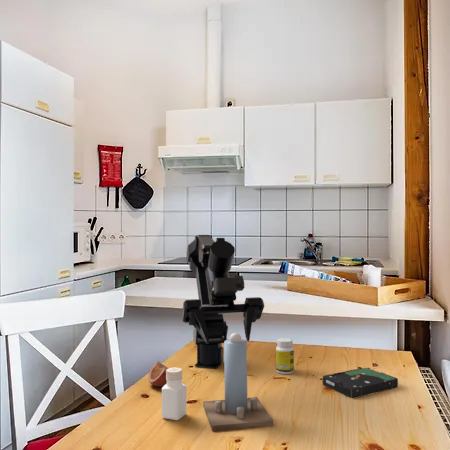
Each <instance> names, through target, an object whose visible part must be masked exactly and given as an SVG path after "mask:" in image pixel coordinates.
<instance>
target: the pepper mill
mask: <svg viewBox="0 0 450 450" xmlns="http://www.w3.org/2000/svg"><path fill="white" fill-rule="evenodd" d="M247 343H248V341H247V340H245V339H242V336H241V334H240V333H238V332H232V333H231V334H230V335H229V339H227V340H226V341H224V343H223V348H224V362H223V363H224V400H225V412H226V413H228V414H232V415H237V407H240V406H241V407H244V413H246V412H247V398H248V350H247V349H248V347H247V345H248V344H247Z"/></svg>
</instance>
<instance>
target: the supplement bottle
mask: <svg viewBox="0 0 450 450" xmlns="http://www.w3.org/2000/svg"><path fill="white" fill-rule="evenodd" d="M276 341H277V342H276V344H277V346H276V347H275V371H276V373H278V374H281V375H290V374H293V373H294V372H295V366H294V365H295V358H294V357H295V348H294V347H293V343H294V342H293V339H291V338H288V337H287V338H286V337H281V338H278V339H277V340H276Z"/></svg>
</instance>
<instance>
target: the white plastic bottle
mask: <svg viewBox="0 0 450 450" xmlns="http://www.w3.org/2000/svg"><path fill="white" fill-rule="evenodd" d="M168 368H169V369H167V370H166V380H167V384H166V385H165V386H162V387H161V417H162V418H163V419H167V420H172V421H180V419H182V418H183V417H184V416H185V415H187V385H186V384H184V383H183V381H182V380H183V369H182V368H180V367H175V366H174V367H168Z"/></svg>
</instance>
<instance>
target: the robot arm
mask: <svg viewBox="0 0 450 450" xmlns="http://www.w3.org/2000/svg"><path fill="white" fill-rule="evenodd" d="M215 240H216V241H215ZM215 240H214V239H213V235H210V234H197V235H194V239H193V240H192V241H191V242H190V243H189V244H188V245H187V249H186V263H188V266H189V270H190V271H191V272H192V273H193V274H194V275H195V279H196V280H195V281H196V285H197V287H196V288H197V295H198V299H197V298H196V299H194V298H193V299H185V300H184V301H183V304H182V312H181V315H182V322H183V323H187V324H188V325H189V326H193V333H192V334H193V342H194V345H196V363H195V364H194V367H199V368H209V369H218V368H219V367H220V366H222V364H223V363H224V346H222V345H223V344H224V341H226V340H228V339H227V338H228V330H229V326H228V325H227V322H226V320H225V319H224V315H225V314H226V315H227V314H243V320H242V322H243V327H244V334H245V336H244V337H245V339H246V341H247V342H249V341H250V338H251V332H252V325H253V323H255V322H257V320H260V319H261V317H262V314H263V312H264V308H265V302H264V299H263V298H262V297H259V296H258V297H257V296H256V297H246V298H245V300H244V303H235V301H236V300H237V294H236V293H238V292H240V291H241V292H242V291H243V290H244V289H245V279H244V276H243V275H235V276H234V277H230V275H229V272H230V271H231V269H232V265H233V261H234V258H235V257H234V256H235V251H236V249H235V246H234V245H233V244H232V243H231V242H230V241H227V240H226V239H225V237H216V239H215Z"/></svg>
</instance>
